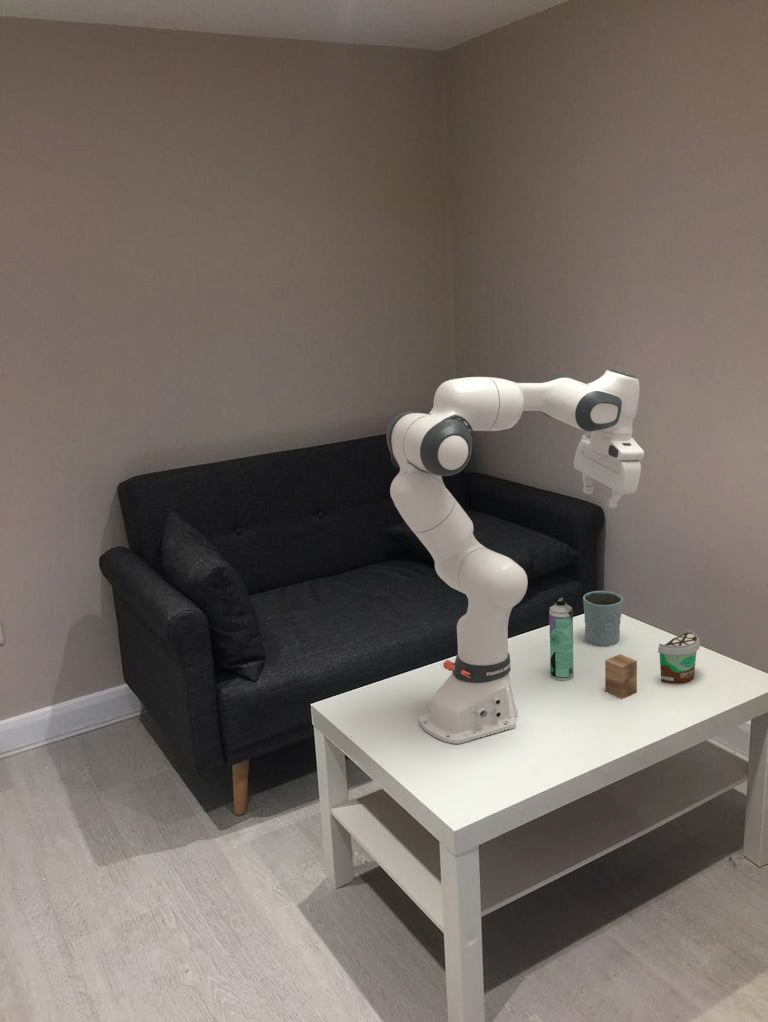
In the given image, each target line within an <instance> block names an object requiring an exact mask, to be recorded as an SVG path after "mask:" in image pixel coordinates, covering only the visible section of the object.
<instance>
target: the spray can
mask: <svg viewBox="0 0 768 1022" xmlns="http://www.w3.org/2000/svg"><path fill="white" fill-rule="evenodd" d="M548 612H549V613H548V614H549V615H548V616H549V617H548V619H549V663H550V664H549V665H550V668H549V669H550V670H549V671H550V673H549V674H550V678H551V679H552V680H553V681H558V682H559V681H560V682H567V681H569V680H572V679H573V678H574V621H573V620H574V618H573V615H574V613H573V606H570V605H569V604H567V602H566V601H565V598H564V597H557V599H556V602H554V604H553V605H551V606H550V607H549V611H548Z"/></svg>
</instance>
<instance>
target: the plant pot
mask: <svg viewBox="0 0 768 1022" xmlns="http://www.w3.org/2000/svg"><path fill="white" fill-rule="evenodd" d="M582 600H583V602H582V603H583V613H584V634H585V641H586V642H587V643H588V644H589V643H590V645H591V644H592V646H595V645H596V647H611V646H610V645H612V646H615V645H616V643H617V642H618V643H619V642H620V631H621V630H620V627H621V618H622V612H623V611H622V610H623V601H624V598H623V596H621V595H620V594H619V593H617V592H613V591H606V590H594V591H590V592H587V593H585V594H584V595H583V597H582ZM618 643H617V644H618ZM614 644H615V645H614Z"/></svg>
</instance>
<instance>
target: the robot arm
mask: <svg viewBox="0 0 768 1022" xmlns="http://www.w3.org/2000/svg"><path fill="white" fill-rule="evenodd" d="M639 381H640V380H639V379H638V378H637V376H635V375H634V374H631V373H628V372H623V371H622V370H618V369H613V368H610V369H606V370H605V371H604V374H602V375H601V376H600V377H599V378H597V379H595V380H593V381H591V382H589V383H584V382H582V381H579V380H576V379H575V378H572V377H571V376H569V375H566V374H556V375H553V376H550V377H548V378H545V379H543V380H540V381H530V382H529V381H528V382H527V381H522V382H521V381H517V382H515V381H511V380H509V379H504V378H501V377H491V376H470V377H461V378H460V377H459V378H452V379H448V380H446V381H443V382H442V383H441V384H440V385H439V387H437V389H436V391H435V394H434V396H433V397H434V398H433V407H432V408H431V410H430V411H429V413H423V412H420V411H415V410H413V411H411V410H410V411H405V412H401V413H400V414H398V415H396V416H395V417H394V418H393V419H392V420H391V421H390V422H389V424H388V426H387V429H386V443H387V447H388V450H389V453H390V461H391V464H392V466H394V467H395V468H396V469H399V472H398V473H397V474H396V476H395V477H394V479H392V482H391V484H390V489H389V494H390V498H391V499H392V501H393V504H394V507H395V508H396V509H397V511H398V513H399V514H400V516H401V517H402V519H403V520H404V522H405V524H406V525H407V526H408V527H409V528H410V530H411V531H412V532H413V534H415V536H416V537H417V538H418V540H419V541H420V542H421V544H422V545H423V546H424V547H425V549H426V550H427V551H428V552H429V554H430V555H431V557H432V559H433V561H434V570H435V572H436V574H437V576H438V577H439V578H440V579H441V580H442V581H444V583H445V584H446V585H448V586H449V588H452V589H454V590H456V591H458V592H460V593H462V594H465V595H466V597H467V599H468V601H467V602H468V604H467V605H468V606H467V610H466V613H465V614H463V615H462V616H461V617H460V618H459V620H458V621H457V624H456V635H457V636H456V637H457V638H456V639H457V654H456V656H455V660H454V661H453V662H452V661H451V660H449V659H446V660H444V662H443V665H442V666H443V668H444V669H445V670H448V671H450V672H452V673H451V674H450V675H449V677H448V678H447V679H446V680H445V681H444V682H443V683H442V684H441V686H440V687H439V688H438V689H437V690H436V691H435V692H434V694H433V695H432V696H431V698H430V702H429V711H428V712H426V713H425V714H423V715H421V716H420V717H419V725H420V727H421V728H422V729H423V730H424V731H425V732H426V733H428V734H429V735H431V736H432V737H434V738H436V739H438V740H441V741H442V742H446V743H449V744H454V745H460V744H464V743H467V742H470V741H474V740H477V739H480V737H481V738H484V737H487V735H488V736H490V734H491V735H494V733H495V734H498V733H500V732H501V731H502V732H504V730H505V731H509V730H512V729H515V728H516V726H517V722H516V718H517V716H518V709H517V706H516V703H515V700H514V695H513V690H512V685H511V678H510V672H511V669H512V668H511V654H510V653H509V647H508V645H509V642H508V640H509V638H508V637H509V636H508V634H509V633H508V631H509V630H508V626H509V619H510V615H511V613H512V611H513V608H514V607H515V606H516V605H518V604H519V603H520V602H521V601H522V600H523V598H524V597H525V595H526V592H527V590H528V575H527V573H526V571H525V570H524V568H523V567H522V566H520V565H519V564H518V563H517V562H516V561H514V560H513V559H512V558H510V557H508V556H506V555H504V554H502V553H500V552H499V553H498V552H496V551H494V550H491V549H490V548H488V547H485V546H484V545H483V544H481V543H480V542H479V541H478V540H477V539H476V537H475V535H474V523H473V520H471V518H470V516H468V513H466V511H465V510H464V508H463V507H462V506H461V504H460V503H459V502H458V501H457V499H456V498H455V497H454V496H453V494H452V493H451V492H450V490H448V488H446V485H445V483H444V481H443V477H449V476H454V475H455V476H456V475H457V474H459V473H460V472H462V471H463V470H464V469H465V468H466V466H467V465H468V463H469V461H470V458H471V455H472V453H473V452H472V451H473V450H472V449H473V441H474V437H475V433H474V431H476V432H477V431H479V432H496V431H498V432H499V431H504V430H508V429H512V428H513V427H514V426H515V425H516V424H517V423H518V422H519V420H520V419H521V417H522V414H523V412H527V411H528V412H531V411H536V412H540V413H541V414H543V415H545V416H546V417H548V418H551V419H553V420H557V421H560V422H563V423H565V424H567V425H568V426H571V427H573V428H575V429H578V430H580V431H584V432H585V433H584V434H582V436H581V439H580V441H579V443H578V445H577V447H576V451H575V454H574V459H573V468H574V469H575V470H577V471H579V472H580V473H582V475H581V476H582V477H581V478H582V483H583V489H582V492H583V493H584V494H586V495H592V494H593V493H594V490H595V487H594V486H593V485H592V484H593V482H592V479H594V480H595V481H597V482H599V483H600V484H603V485H604V486H606V487H609V488H610V489H612V490H611V494H612V495H611V497H610V498H607V501H606V502H607V503H606V506H607V507H609V508H611V509H615V508H617V506H618V503H619V500H620V499H621V497H623V495H631V494H634V493H635V492H636V491H637V490H638V487H639V483H640V479H641V470H642V465H641V460H643V459H644V456H645V451H644V449H642V448H641V446H640V445H639V444H638V443H637V441H636V440H635V439H634V438H633V437H632V435H633V431H634V430H633V421H634V419H635V417H636V414H637V411H638V406H639V400H640V399H639V398H640V382H639ZM508 729H509V730H508ZM502 732H501V733H502ZM476 738H477V739H476ZM473 739H474V740H473Z"/></svg>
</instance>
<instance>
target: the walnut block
mask: <svg viewBox="0 0 768 1022" xmlns="http://www.w3.org/2000/svg"><path fill="white" fill-rule="evenodd" d="M604 661H605V662H604V664H605V665H604V671H605V673H604V674H605V675H604V676H605V677H604V678H605V679H604V681H605V682H604V685H605V687H604V688H605V689H604V690H605V691H604V692H605V693H607V692H608V693H607V694H609V693H610V694H609V695H611V694H612V695H611V696H613V695H614V696H613V697H615V698H617V699H618V698H619V699H620V698H621V699H620V700H623V698H624V699H626V698H627V697H631V696H632V694H633V695H635V694H637V691H638V685H637V684H638V683H637V680H638V661H637V660H636V659H633V658H631V657H628V656H626V655H623V654H621V653H620V654H616V655H615V656H613V657H610V658H608V659H605V660H604Z"/></svg>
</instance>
